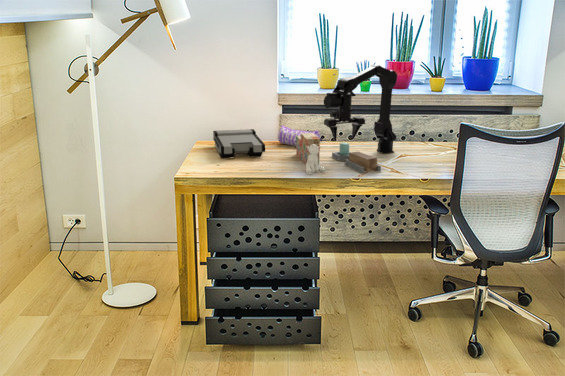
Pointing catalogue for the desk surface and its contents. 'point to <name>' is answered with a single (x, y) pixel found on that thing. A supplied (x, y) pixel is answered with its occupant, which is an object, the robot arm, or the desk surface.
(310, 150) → the sitting furry creature
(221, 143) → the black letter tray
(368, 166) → the block
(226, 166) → the desk surface
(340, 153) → the nose cylinder
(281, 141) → the pencil case
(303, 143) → the stack of blocks
